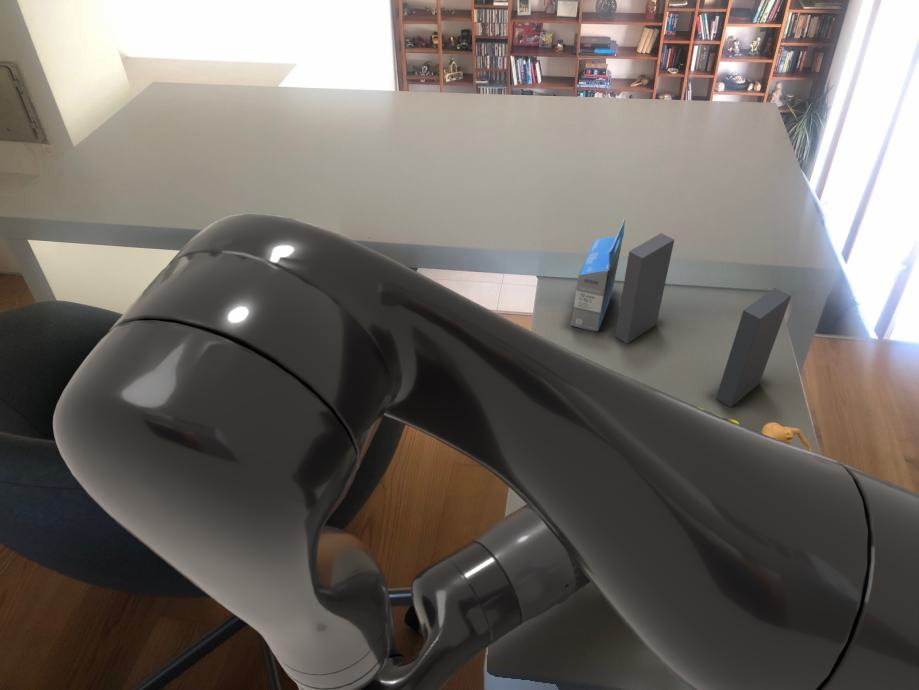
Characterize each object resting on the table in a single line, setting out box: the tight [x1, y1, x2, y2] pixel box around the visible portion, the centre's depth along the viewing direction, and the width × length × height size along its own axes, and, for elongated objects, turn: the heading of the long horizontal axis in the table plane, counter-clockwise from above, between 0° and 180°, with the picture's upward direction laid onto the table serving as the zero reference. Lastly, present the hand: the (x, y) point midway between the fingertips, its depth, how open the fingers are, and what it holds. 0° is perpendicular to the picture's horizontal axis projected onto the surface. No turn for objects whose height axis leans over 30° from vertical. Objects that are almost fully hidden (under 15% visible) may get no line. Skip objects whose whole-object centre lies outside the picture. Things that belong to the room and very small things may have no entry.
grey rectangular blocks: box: [614, 232, 792, 408], centre depth 81 cm, size 17×6×13 cm, turn 40°
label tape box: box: [570, 217, 626, 332], centre depth 89 cm, size 9×4×12 cm, turn 159°
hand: (694, 456), depth 61 cm, fingers closed on thin white book, 3 cm apart
